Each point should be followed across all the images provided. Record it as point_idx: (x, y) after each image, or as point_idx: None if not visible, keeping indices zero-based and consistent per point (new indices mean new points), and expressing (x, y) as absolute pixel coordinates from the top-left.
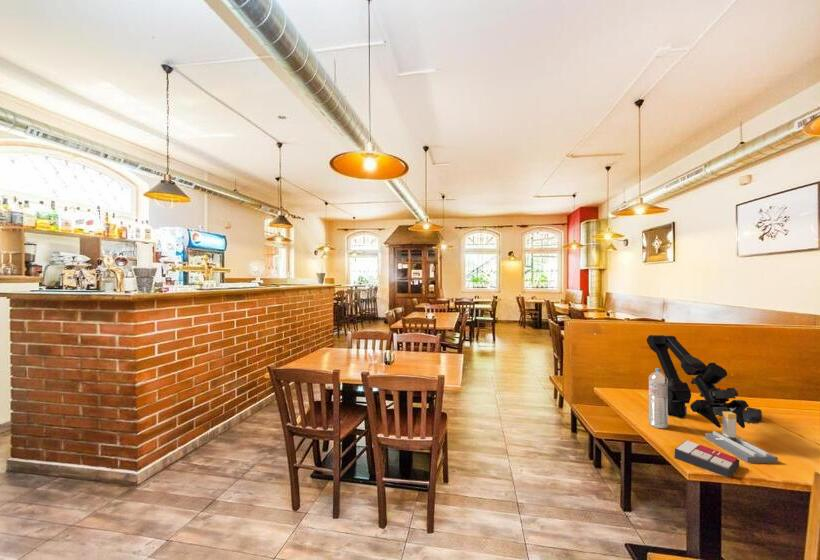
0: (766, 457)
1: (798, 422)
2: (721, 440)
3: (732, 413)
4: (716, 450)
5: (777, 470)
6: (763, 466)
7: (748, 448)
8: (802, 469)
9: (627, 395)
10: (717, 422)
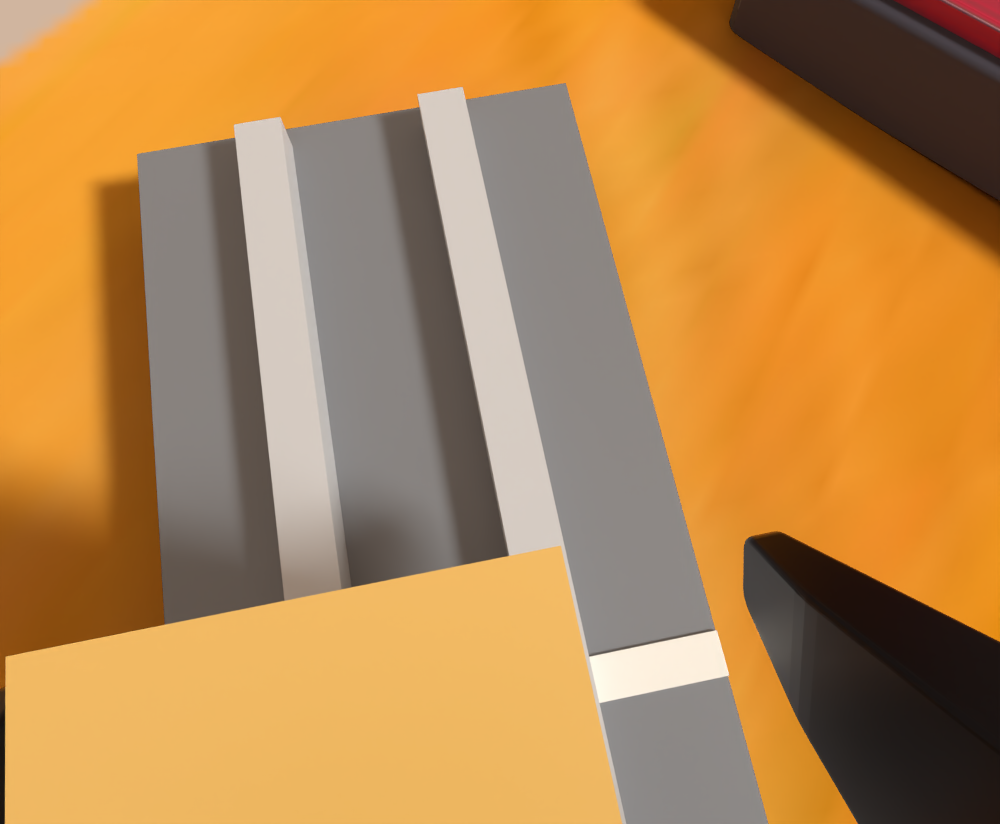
0: (300, 128)
1: None
2: (643, 607)
3: (174, 751)
4: (996, 26)
5: (329, 35)
6: (424, 90)
7: (360, 357)
8: (5, 111)
9: None
10: (881, 589)
